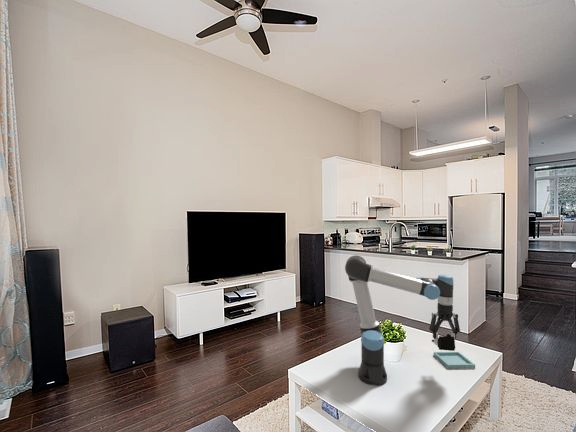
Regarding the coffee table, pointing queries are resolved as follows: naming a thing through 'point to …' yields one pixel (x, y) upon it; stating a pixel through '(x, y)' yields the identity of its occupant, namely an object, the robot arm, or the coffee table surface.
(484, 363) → the coffee table surface
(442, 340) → the toy
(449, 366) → the tray
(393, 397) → the coffee table surface
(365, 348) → the robot arm
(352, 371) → the coffee table surface
